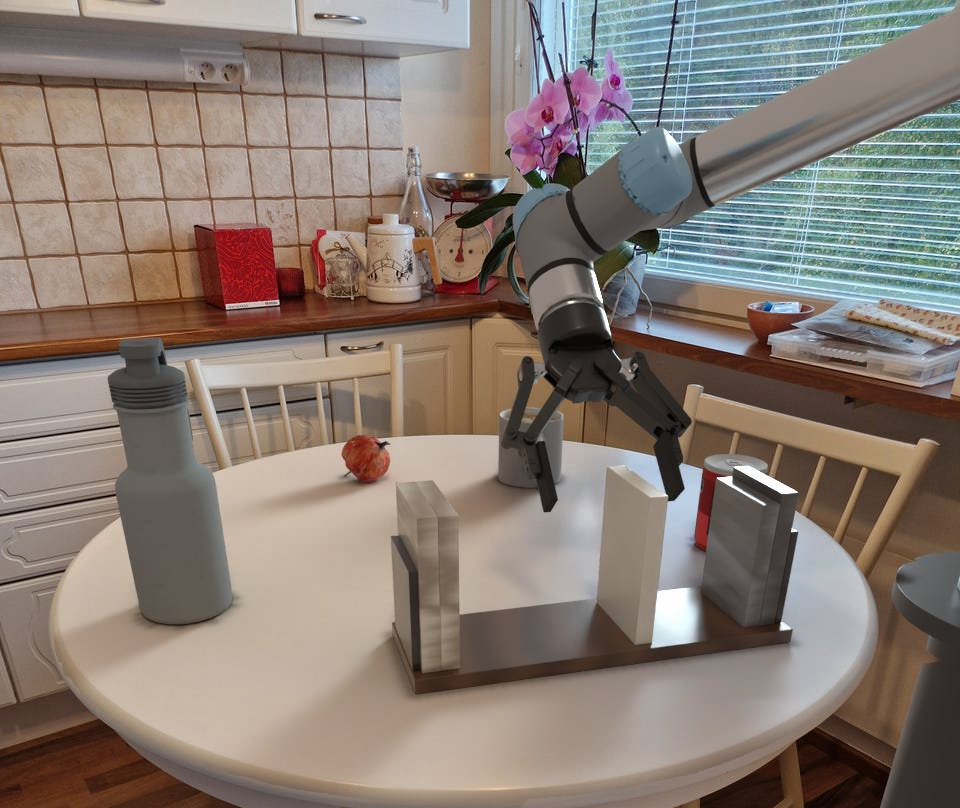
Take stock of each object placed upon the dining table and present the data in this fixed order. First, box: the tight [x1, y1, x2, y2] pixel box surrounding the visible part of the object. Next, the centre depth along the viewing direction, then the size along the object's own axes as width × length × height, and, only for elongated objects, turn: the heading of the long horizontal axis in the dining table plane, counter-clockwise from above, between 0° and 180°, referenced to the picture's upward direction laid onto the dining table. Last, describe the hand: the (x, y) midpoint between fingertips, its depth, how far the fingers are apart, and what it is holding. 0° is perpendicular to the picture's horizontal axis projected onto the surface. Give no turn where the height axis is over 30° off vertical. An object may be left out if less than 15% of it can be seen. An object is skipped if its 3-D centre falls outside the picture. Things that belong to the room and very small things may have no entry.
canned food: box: [693, 453, 769, 552], centre depth 107 cm, size 8×8×11 cm
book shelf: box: [390, 466, 799, 695], centre depth 83 cm, size 39×12×16 cm, turn 105°
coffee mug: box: [497, 407, 565, 489], centre depth 131 cm, size 13×10×10 cm
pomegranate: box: [340, 434, 391, 483], centre depth 132 cm, size 7×7×10 cm
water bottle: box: [107, 337, 234, 625], centre depth 87 cm, size 10×10×28 cm
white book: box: [596, 464, 669, 645], centre depth 83 cm, size 2×10×15 cm, turn 15°
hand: (614, 501), depth 85 cm, fingers open, 13 cm apart
